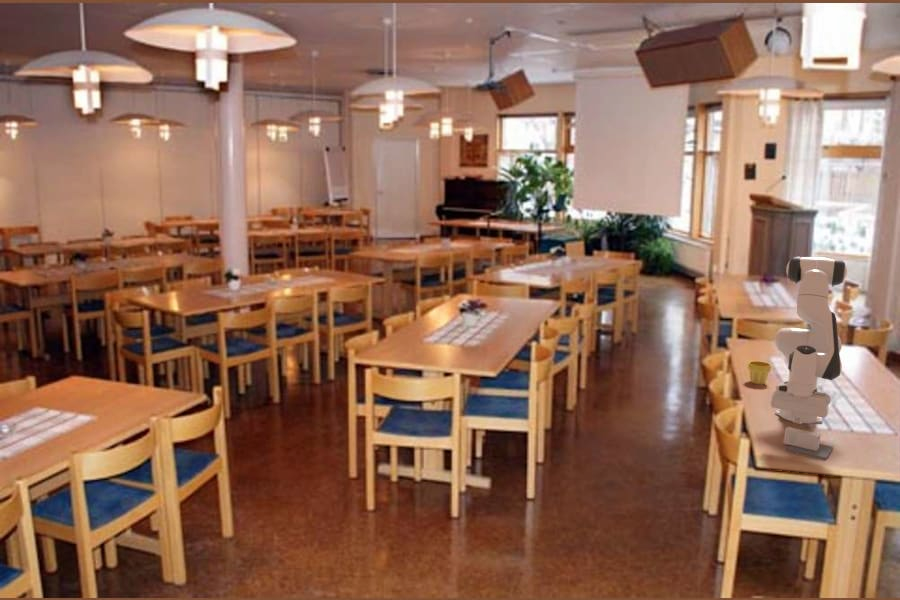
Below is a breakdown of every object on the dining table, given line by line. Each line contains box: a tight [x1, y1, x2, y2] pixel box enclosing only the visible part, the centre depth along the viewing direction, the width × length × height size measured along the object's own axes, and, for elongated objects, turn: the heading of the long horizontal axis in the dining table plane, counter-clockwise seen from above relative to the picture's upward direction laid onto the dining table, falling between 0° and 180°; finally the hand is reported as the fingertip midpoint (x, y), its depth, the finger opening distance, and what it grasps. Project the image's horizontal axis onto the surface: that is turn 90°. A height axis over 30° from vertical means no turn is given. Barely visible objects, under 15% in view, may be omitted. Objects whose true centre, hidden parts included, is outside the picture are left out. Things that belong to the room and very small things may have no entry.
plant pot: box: [747, 360, 772, 385], centre depth 386 cm, size 10×10×10 cm
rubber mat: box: [785, 443, 834, 461], centre depth 299 cm, size 14×14×1 cm
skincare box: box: [783, 426, 821, 451], centre depth 300 cm, size 6×4×12 cm
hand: (797, 423), depth 301 cm, fingers closed
